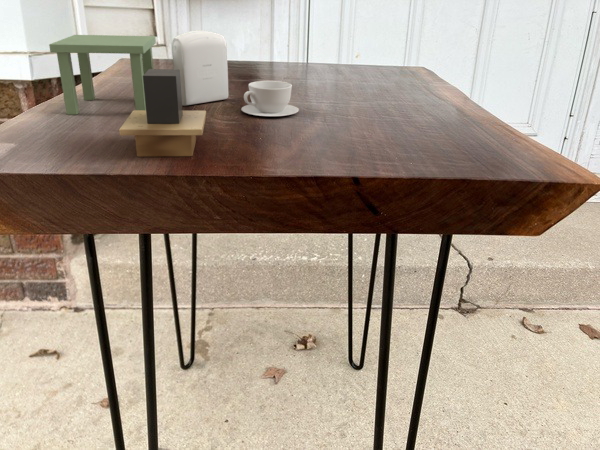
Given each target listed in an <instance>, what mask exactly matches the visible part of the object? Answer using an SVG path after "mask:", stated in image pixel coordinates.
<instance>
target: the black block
mask: <svg viewBox="0 0 600 450" xmlns="http://www.w3.org/2000/svg"><path fill="white" fill-rule="evenodd" d="M143 83H144V94H145V104H146V115H147V124H179V123H180V120H181V118H182V115H183V111H184V110H183V106H182V95H181V80H180V70H179V69H173V68H172V69H171V68H170V69H169V68H168V69H165V68H154V69H149V70H148V71H147V72H146V73H145V74H144V75H143Z"/></svg>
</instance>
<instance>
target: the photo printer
mask: <svg viewBox="0 0 600 450" xmlns="http://www.w3.org/2000/svg"><path fill="white" fill-rule="evenodd" d="M171 55H172V69H179V70H180V80H181V95H182V107H187V106H192V105H198V104H203V103H210V102H217V101H222V100H227V99H228V98H229V70H228V46H227V41H226V38H225V37H224V35H223V34H221V33H218V32H214V31H211V30H202V29H201V30H200V29H199V30H190V31H186V32H183V33H181V34H178V35H176V36H175V37H173V39H172V42H171Z"/></svg>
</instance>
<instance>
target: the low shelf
mask: <svg viewBox="0 0 600 450" xmlns="http://www.w3.org/2000/svg"><path fill="white" fill-rule="evenodd" d="M206 120H207V111H206V110H183V115H182V118H181V120H180V123H179V124H147V115H146V110H136V109H134V110H132V111H131V113H130V114H129V115H128V117H127V118H126V120H125V121H124V122H123V124H122V125H121V126H120V127H119V129H118V132H119V136H134V139H135V150H136V157H140V158H141V157H150V158H151V157H193V156H194V152H195V146H196V143H197V136H203V134H204V130H205V129H204V128H205V123H206Z"/></svg>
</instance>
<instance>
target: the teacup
mask: <svg viewBox="0 0 600 450" xmlns="http://www.w3.org/2000/svg"><path fill="white" fill-rule="evenodd" d="M292 89H293V85H292V83H290V82H286V81H280V80H257V81H252V82H249V83H248V90H247V91H246V92H244V94H243V100H244V102H245V104H246V105H243V106H242V107H241V109H240V110H241V111H242V112H243V113H245V114H248V115H253V116H259V117H285V116H290V115H294V114H297V113H298V112H299V111H300V109H299V108H298V107H297V106H294V105H292V104H289V103H290V101H291V97H292ZM248 97H249V99H250V101H249V100H248Z"/></svg>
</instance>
